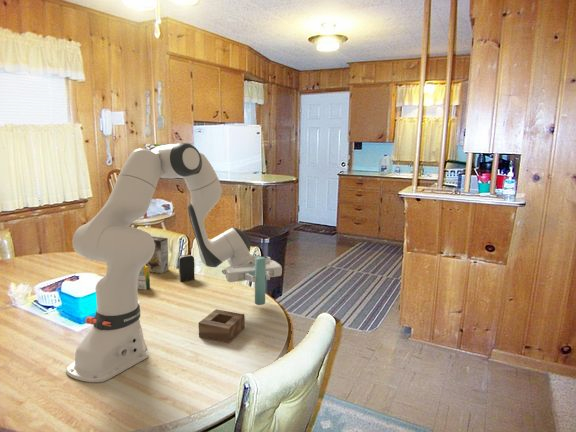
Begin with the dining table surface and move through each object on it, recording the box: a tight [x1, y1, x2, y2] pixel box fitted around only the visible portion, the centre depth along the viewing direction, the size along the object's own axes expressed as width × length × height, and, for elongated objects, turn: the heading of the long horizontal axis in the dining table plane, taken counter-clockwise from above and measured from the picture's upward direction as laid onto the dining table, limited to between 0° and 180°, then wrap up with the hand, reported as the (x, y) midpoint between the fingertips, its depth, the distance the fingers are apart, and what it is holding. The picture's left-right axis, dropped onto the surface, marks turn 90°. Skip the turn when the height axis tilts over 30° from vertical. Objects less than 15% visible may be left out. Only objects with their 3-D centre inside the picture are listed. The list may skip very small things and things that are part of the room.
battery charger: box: [177, 254, 196, 282], centre depth 180 cm, size 7×4×11 cm, turn 121°
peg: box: [254, 256, 267, 306], centre depth 137 cm, size 4×4×16 cm
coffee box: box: [145, 235, 170, 274], centre depth 191 cm, size 9×6×16 cm
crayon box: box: [137, 265, 151, 291], centre depth 170 cm, size 7×3×12 cm, turn 74°
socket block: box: [198, 308, 246, 344], centre depth 132 cm, size 11×11×5 cm
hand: (261, 278), depth 136 cm, fingers closed on peg, 4 cm apart
